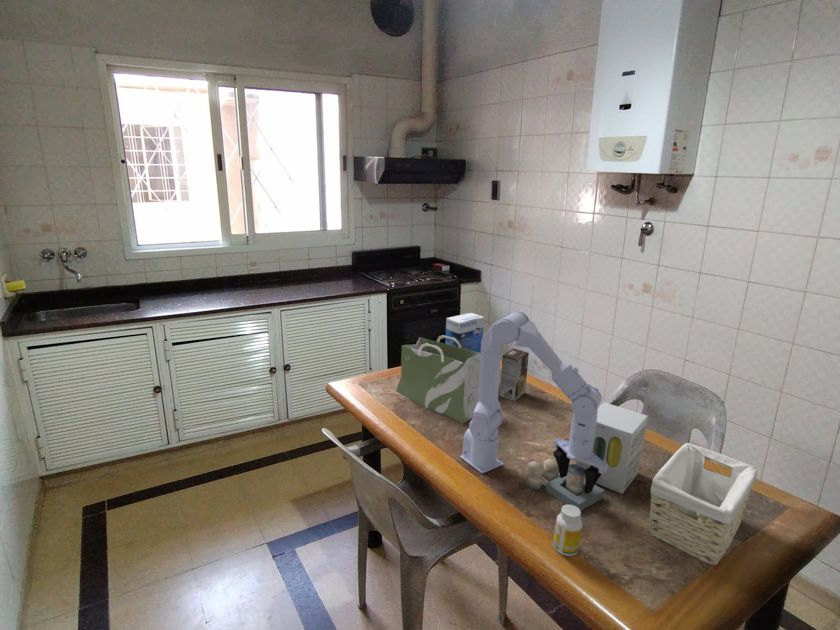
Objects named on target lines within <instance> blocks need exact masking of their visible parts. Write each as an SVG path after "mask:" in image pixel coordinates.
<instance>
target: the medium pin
mask: <svg viewBox="0 0 840 630" xmlns="http://www.w3.org/2000/svg"><path fill="white" fill-rule="evenodd" d="M543 470H544V464H542V463H541V462H539V461H534V460H533V461H529V462H527V469H526V478H525V479H526V480H525V485H526V486H527V487H528V488H530V489H531V490H532V489H533V490H539V489H541V488H542V485H543V478H544V477H543Z"/></svg>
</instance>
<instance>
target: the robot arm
mask: <svg viewBox="0 0 840 630" xmlns="http://www.w3.org/2000/svg"><path fill="white" fill-rule="evenodd" d="M515 341H516V343H515V344H514V345H515V347H522V348H529V350H530V351H531V352H532V353H533V354H534V355H535V356H536V357H537V358H538V359H539V360H540V361H541V363H543V364H544V365H545V366H546V368H547V369H549V370H550V371H551V380H552V381H553V382H554V383H555V384H556V386H557V387H558V388H559V390H560V391H562V392H563V394H564V395H565V397H566V398H567V399H568V400H570V401H571V403H570V404H571V405H570V406H571V410H572V413H573V415H572V417H571V424H570V430H569V431H570V433H569V439H568V441H567V440H565V439H563V438H561V437H558V438H556V439H554V440H553V447H554V448H555V449H556V450H554V451H553V452H552V453H553V456H554V458H555V459H554V460H556V461H557V464H558V468H559V474H558V476H559V477H561V478H563V477H565V476H567V473H568V467H569V465H570V462H571V461H576V460H578V461H580V462H583V463H586V464H588V465H590V468H587V469H585V470H584V472H585V478H584V479H585V489H584V491H585V493H586V494H588V493H590V492H592V490H593V487H594V485H596V484H597V483H596V481H597V480H598V479H599V477H600V476H601V475H602V474H603V473H605V472H607V468H608V464H606V463H604V462H603V461H602V460H601V459H600V458H598V457H597V456H596V455H595V454H594V453H593V445H594V439H595V432H596V425H597V416H598V415H597V413H598V408H599V406H600V404H601V401H602V400H603V399H602V394H601V393H600V391H599V389H598V388H597V387H595V386H592V385H591V384H590V383H587V382H586V380H585V379H584V378H583V377H582V376H581V375H580V373H579V369H578V368H577V367H576V366H574V367H573V365H572V364H571V363H566V362H563V361H562V360H561V359H560V358H559V356H558V355H557V354H556V352H555V351H554V349H553V348H552V347H551V346H550V344H549V343H548V342H547V341H546V339H545V338H544V337H543V335H542V334H541V333H540V332H539V330H538V328H537V326H536V324H535V322H534V321H532V320H530V318H529V317H528V315H527V314H526V313H525V312H523V311H519V310H515V311H512V312H510V313H508V314H506V315H505V316H503V317H501V319H498V320H496V321H494V322H493V323H491V325H490V327H489V328H488V330H487V331H486V333H485V334H483V338H482V341H481V356H480V375H479V393H478V403H477V405H476V407H475V410H474V412H473V418H471V419H470V421H469V424H468V428H467V429H466V431H465V433H464V435H463V441H462V442H463V444H462V454H461V455H460V456H459V457H460V458H461V460H463V461H464V462H466V463H467V464H468V465H470V466H471V467H472V468H473V469H475V470H477V471H478V472H479V473H480V474H486V473H487V472H490V471H491V470H494V469H497V468H499V467H502V466H503V465H504V462H502V461H500V459H498V450H499V449H498V448H499V439H500V437H499V436H500V434H499V432H500V431H499V427H500V426H501V425H502V424H503V422H504V415H503V412H502V404H501V403H500V402H499V394H500V379H501V364H502V362H501V361H502V346H504V345H509V344H513V343H514V342H515ZM602 402H603V401H602Z"/></svg>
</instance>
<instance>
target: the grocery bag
mask: <svg viewBox="0 0 840 630" xmlns="http://www.w3.org/2000/svg"><path fill="white" fill-rule="evenodd" d="M446 338H448V339H451V340H453V341H455V342H456V343H457V344H458V346H459V347H456V346H451V345H447V344H445V343H443V342H440V341H441V339H446ZM480 356H481V353H478V352H475V351H472V350H469V349H465V348H461V345H460V343H459V341H457V340H456V339H455V338H452V337H447V336H446V335H443V334H442V335H439V336H438V337H437V339H436V340H432V339H431V340H430V339H428V338H424V337H418V340H417V341H416V344H403V345H401V357H400V367H401V368H400V370H401V372H400V374H401V376H400V378H399V382H398V384H397V387H396V390H395V393H398V394H400V395H402V396H404V397H406V398H408V399H410V400H411V401H414V402H416V403H417V404H419V406H422V407H424V408H426V409H428V410H430V411H433V412H435V413H436V412H437V413H439V414H442V415H444V416H447V417H448V418H451V419H452V420H455V421H456V422H459V423H460V424H465V423H466V422H468V421H469V420H472V418H473V412H474V410H475V407H476V405H477V403H478V393H479V375H480Z"/></svg>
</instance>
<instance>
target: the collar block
mask: <svg viewBox="0 0 840 630" xmlns="http://www.w3.org/2000/svg"><path fill="white" fill-rule="evenodd" d="M567 475H568V473H567ZM566 482H567V476H565V477H563V478H561V477H560V476H558V478H556V479H554V480H552V481H550V480H549V481H548V482H546V483H545V491H546V492H547V493H549V494H550V495H552V496H553V497H555V498H556V499H558V500H559V501H561V502H562V503H563V504H565V505H567V504H568V505H574V506H576V507H578V508H579V509H580V511H582V510H584V509H587V508H588V507H589V506H592V505H593V504H595V503H597V502H598V501H600V500H602V499H603V498H604V496H605V495H604V494H605V489H603V488H601V487H599V486H598V485H596V484H595V485H594V487H593V490H592V492H590V493H588V494H586V493H585V491H584V489H585V478H584V482H583V489H582V494H580V495H579V496H576V495H574V494H573V493H571V492H570V491H568V490H567V489H566Z"/></svg>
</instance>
